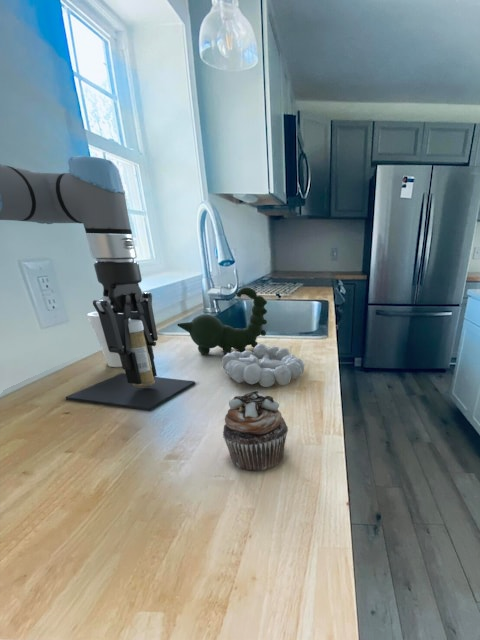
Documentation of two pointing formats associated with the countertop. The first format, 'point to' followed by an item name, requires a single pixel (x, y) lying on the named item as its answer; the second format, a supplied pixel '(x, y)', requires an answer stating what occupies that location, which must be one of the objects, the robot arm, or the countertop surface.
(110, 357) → the foam cup
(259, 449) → the cupcake
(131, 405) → the corner mat
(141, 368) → the sprinkles bottle
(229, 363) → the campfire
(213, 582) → the countertop surface
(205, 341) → the toy figurine
